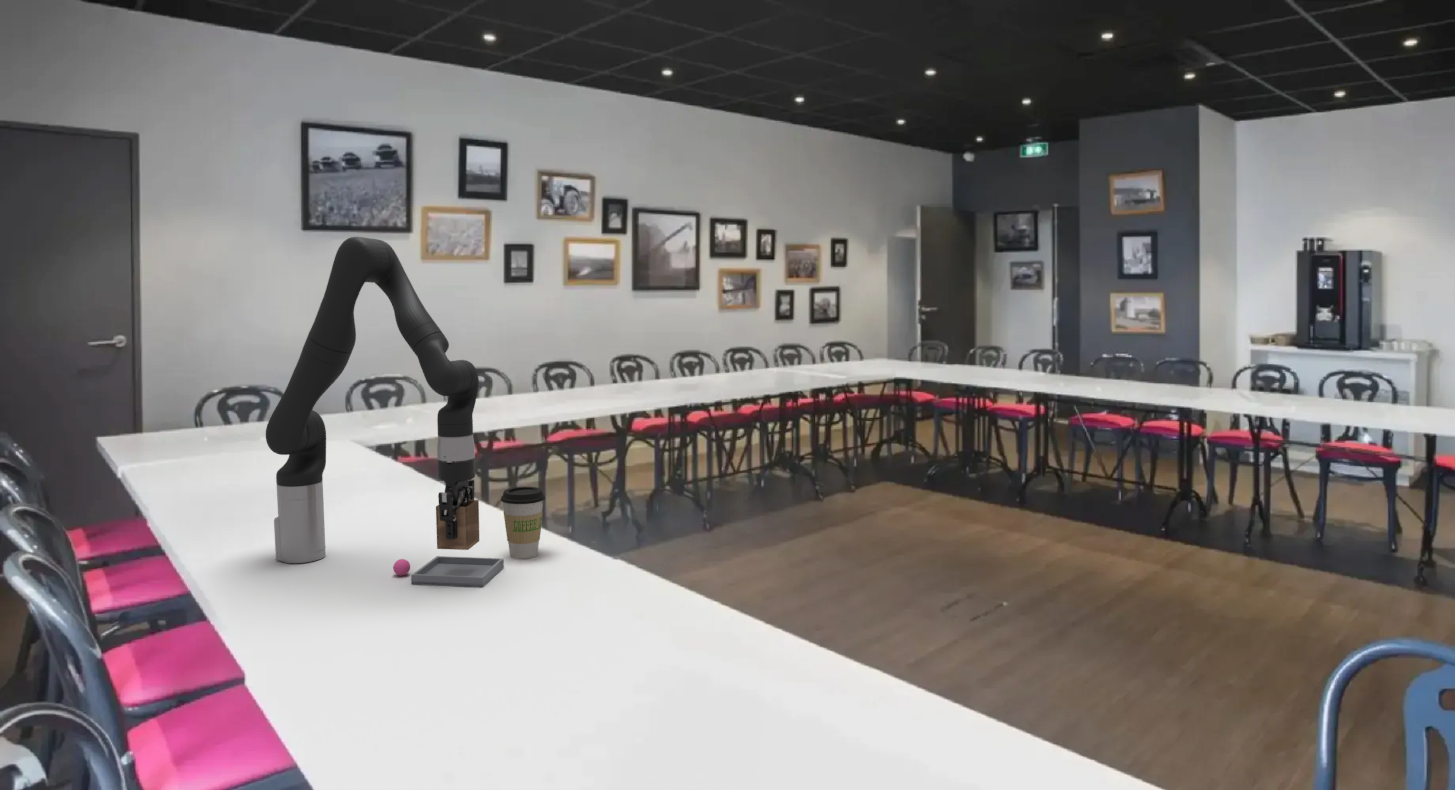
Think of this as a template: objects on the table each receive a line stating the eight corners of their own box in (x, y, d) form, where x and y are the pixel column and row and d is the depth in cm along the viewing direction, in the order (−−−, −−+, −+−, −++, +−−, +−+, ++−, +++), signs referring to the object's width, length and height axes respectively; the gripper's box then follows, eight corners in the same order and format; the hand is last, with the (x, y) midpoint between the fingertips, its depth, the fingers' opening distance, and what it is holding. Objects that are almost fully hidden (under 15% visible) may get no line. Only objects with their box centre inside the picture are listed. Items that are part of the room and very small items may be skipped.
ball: (390, 577, 185) (390, 561, 184) (397, 572, 188) (397, 556, 188) (406, 577, 185) (405, 562, 184) (413, 572, 188) (412, 557, 187)
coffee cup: (535, 562, 196) (534, 496, 194) (494, 559, 198) (492, 494, 196) (552, 550, 205) (551, 487, 204) (513, 547, 207) (512, 484, 206)
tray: (411, 584, 181) (411, 574, 180) (437, 565, 193) (436, 556, 193) (482, 587, 179) (482, 577, 179) (503, 567, 192) (503, 558, 192)
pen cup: (437, 548, 183) (435, 506, 182) (449, 540, 189) (448, 499, 188) (468, 549, 182) (467, 507, 181) (479, 541, 189) (478, 499, 188)
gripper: (451, 449, 191) (454, 524, 193) (424, 462, 177) (426, 543, 179) (485, 450, 190) (487, 525, 192) (460, 463, 176) (462, 544, 178)
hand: (458, 533), depth 185 cm, fingers closed on pen cup, 6 cm apart
